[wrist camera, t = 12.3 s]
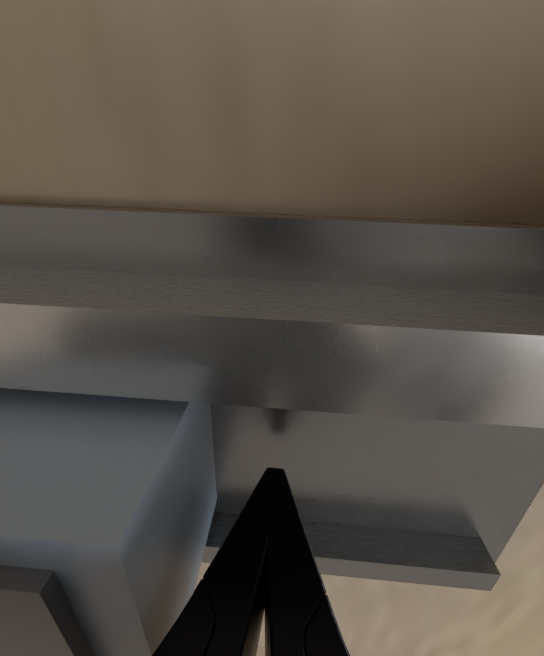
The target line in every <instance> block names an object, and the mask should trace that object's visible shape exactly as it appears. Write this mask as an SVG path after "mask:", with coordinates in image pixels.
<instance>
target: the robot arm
mask: <svg viewBox="0 0 544 656" xmlns="http://www.w3.org/2000/svg"><path fill="white" fill-rule="evenodd" d="M264 609H265V656H350V655H349V652H348V650H347V648H346V645H345V643H344V640H343V638H342V635H341V632H340V630H339V627H338V624H337V621H336V619H335V616H334V613H333V610H332V607H331V604H330V602H329V599H328V596H327V595H326V590H325V587H324V584H323V581H322V578H321V576H320V573H319V570H318V567H317V564H316V561H315V558H314V555H313V552H312V549H311V546H310V543H309V540H308V537H307V534H306V531H305V528H304V526H303V523H302V520H301V517H300V514H299V511H298V508H297V505H296V502H295V499H294V496H293V493H292V490H291V487H290V484H289V481H288V478H287V476H286V473H285V470H284V469H282V468H273V467H268V468H267V469H266V470H265V472H264V473H263V475H262V477H261V478H260V480H259V482H258V484H257V485H256V487H255V489H254V490H253V492H252V494H251V495H250V497H249V499H248V501H247V502H246V504H245V506H244V507H243V509H242V511H241V513H240V514H239V516H238V518H237V519H236V521H235V523H234V525H233V526H232V528H231V530H230V531H229V533H228V535H227V537H226V538H225V540H224V542H223V543H222V545H221V547H220V548H219V550H218V552H217V554H216V555H215V557H214V559H213V560H212V562H211V564H210V566H209V567H208V569H207V571H206V572H205V574H204V576H203V579H202V580H201V581H200V582H199V584H198V586H197V587H196V589H195V591H194V593H193V594H192V596H191V598H190V599H189V601H188V602H187V604H186V606H185V607H184V609H183V610H182V612H181V614H180V615H179V617H178V619H177V620H176V621H175V623H174V624H173V626H172V627H171V629H170V630H169V632H168V633H167V635H166V636H165V637H164V639H163V640H162V642H161V643H160V645H159V646H158V648H157V649H156V650H155V652H154V653H153V654H152V656H256V653H257V647H258V642H259V636H260V631H261V625H262V620H263V614H264Z"/></svg>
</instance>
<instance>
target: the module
mask: <svg viewBox="0 0 544 656" xmlns="http://www.w3.org/2000/svg"><path fill="white" fill-rule="evenodd" d="M216 501H217V494H216V479H215V464H214V450H213V435H212V420H211V405H210V403H197V402H184V401H171V400H157V399H144V398H130V397H117V396H103V395H90V394H76V393H63V392H49V391H36V390H22V389H9V388H0V656H152V654H153V653H154V652H155V650H156V649H157V648H158V646H159V645H160V643H161V642H162V640H163V639H164V637H165V636H166V635H167V633H168V632H169V630H170V629H171V627H172V626H173V624H174V623H175V621H176V620H177V619H178V617H179V615H180V614H181V612H182V610H183V609H184V607H185V606H186V604H187V602H188V601H189V599H190V598H191V596H192V594H193V593H194V589H195V585H196V581H197V577H198V573H199V569H200V565H201V561H202V557H203V553H204V549H205V545H206V541H207V537H208V533H209V529H210V525H211V521H212V517H213V513H214V509H215V505H216Z"/></svg>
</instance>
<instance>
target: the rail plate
mask: <svg viewBox="0 0 544 656" xmlns="http://www.w3.org/2000/svg"><path fill="white" fill-rule="evenodd" d="M0 388H9V389H22V390H36V391H49V392H63V393H76V394H90V395H103V396H117V397H130V398H144V399H157V400H171V401H184V402H197V403H210V405H211V420H212V435H213V450H214V464H215V479H216V494H217V501H216V505H215V509H214V513H213V517H212V521H211V525H210V529H209V533H208V537H207V541H206V545H205V549H204V553H203V557H202V561H201V562H207V563H211V562H212V560H213V559H214V557H215V555H216V554H217V552H218V550H219V548H220V547H221V545H222V543H223V542H224V540H225V538H226V537H227V535H228V533H229V531H230V530H231V528H232V526H233V525H234V523H235V521H236V519H237V518H238V516H239V514H240V513H241V511H242V509H243V507H244V506H245V504H246V502H247V501H248V499H249V497H250V495H251V494H252V492H253V490H254V489H255V487H256V485H257V484H258V482H259V480H260V478H261V477H262V475H263V473H264V472H265V470H266V469H267V468H268V467H273V468H282V469H284V470H285V473H286V476H287V478H288V481H289V484H290V487H291V490H292V493H293V496H294V499H295V502H296V505H297V508H298V511H299V514H300V517H301V520H302V523H303V526H304V528H305V531H306V534H307V537H308V540H309V543H310V546H311V549H312V552H313V555H314V558H315V561H316V564H317V567H318V570H319V573H320V574H327V575H337V576H347V577H357V578H367V579H377V580H387V581H397V582H407V583H417V584H427V585H437V586H447V587H457V588H467V589H477V590H487V591H491V590H492V588H493V586H494V585H495V583H496V582H497V580H498V579H499V577H500V576H501V575H500V573H499V571H498V569H497V567H496V565H495V562H496V561H497V559H498V557H499V556H500V554H501V552H502V551H503V549H504V547H505V546H506V544H507V542H508V541H509V539H510V538H511V536H512V534H513V533H514V531H515V529H516V528H517V526H518V524H519V523H520V521H521V519H522V518H523V516H524V514H525V513H526V511H527V510H528V508H529V506H530V505H531V503H532V501H533V500H534V498H535V496H536V495H537V493H538V491H539V490H540V488H541V486H542V485H543V483H544V226H541V225H518V224H494V223H471V222H448V221H425V220H402V219H378V218H355V217H332V216H309V215H286V214H263V213H239V212H216V211H193V210H170V209H147V208H124V207H100V206H77V205H54V204H31V203H8V202H0Z"/></svg>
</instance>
